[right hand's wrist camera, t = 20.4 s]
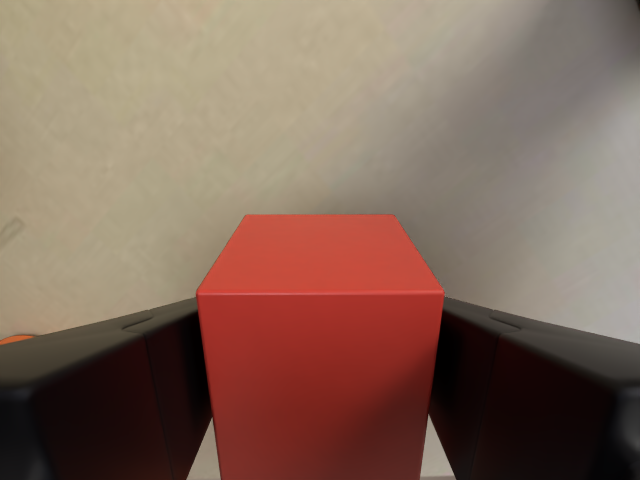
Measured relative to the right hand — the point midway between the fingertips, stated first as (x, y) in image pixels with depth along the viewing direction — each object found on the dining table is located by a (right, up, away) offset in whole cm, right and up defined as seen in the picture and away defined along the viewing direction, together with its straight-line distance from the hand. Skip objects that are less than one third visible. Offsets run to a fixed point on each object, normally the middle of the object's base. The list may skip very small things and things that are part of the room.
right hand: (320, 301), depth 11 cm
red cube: (0, 0, +1) cm, 1 cm away
